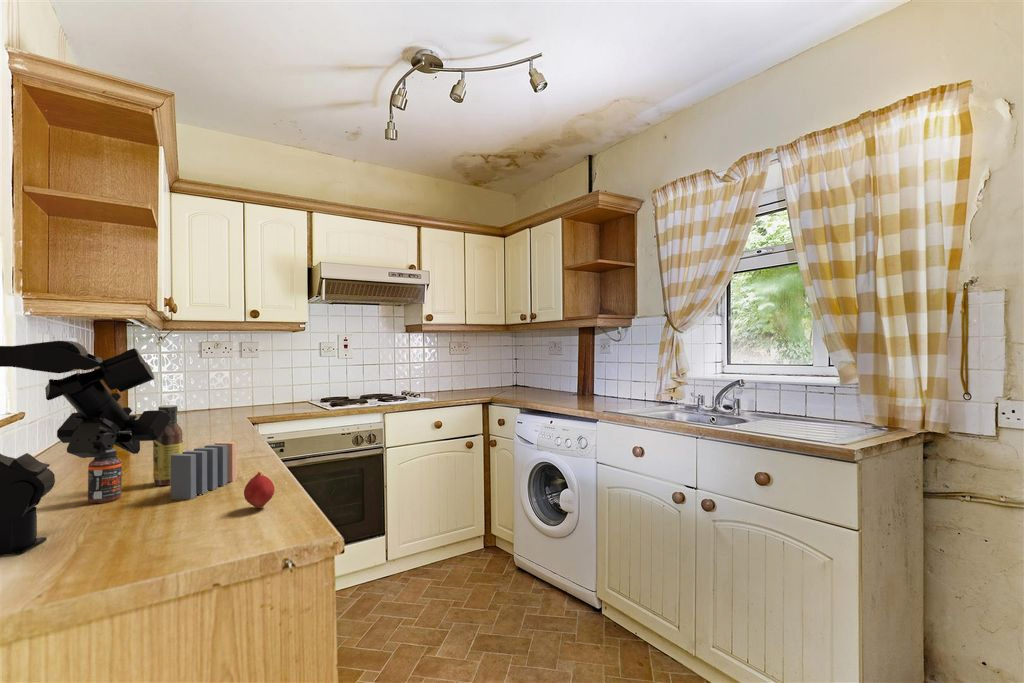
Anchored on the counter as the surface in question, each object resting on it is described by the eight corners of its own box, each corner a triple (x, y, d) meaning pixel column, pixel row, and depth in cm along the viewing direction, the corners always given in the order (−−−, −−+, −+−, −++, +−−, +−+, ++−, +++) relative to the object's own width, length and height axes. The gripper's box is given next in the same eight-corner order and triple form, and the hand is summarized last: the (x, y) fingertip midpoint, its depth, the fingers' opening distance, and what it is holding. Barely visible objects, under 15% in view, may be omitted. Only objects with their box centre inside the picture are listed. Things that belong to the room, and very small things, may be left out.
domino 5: (232, 482, 127) (232, 443, 127) (214, 482, 127) (214, 443, 127) (236, 480, 128) (236, 442, 128) (218, 480, 129) (218, 442, 129)
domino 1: (190, 499, 113) (190, 455, 113) (170, 499, 113) (170, 455, 113) (196, 497, 114) (195, 454, 114) (176, 496, 115) (176, 453, 115)
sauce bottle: (156, 481, 128) (156, 404, 128) (185, 478, 131) (184, 403, 131) (150, 488, 122) (150, 407, 122) (180, 485, 125) (180, 406, 125)
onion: (237, 510, 105) (237, 472, 105) (262, 502, 110) (262, 466, 110) (255, 514, 102) (255, 475, 102) (280, 506, 107) (280, 469, 107)
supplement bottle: (102, 505, 109) (102, 453, 109) (80, 503, 110) (80, 452, 110) (128, 496, 115) (128, 448, 115) (107, 495, 116) (107, 447, 116)
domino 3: (212, 490, 120) (212, 449, 120) (193, 490, 120) (193, 448, 120) (217, 488, 121) (217, 447, 121) (198, 488, 122) (198, 447, 122)
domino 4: (222, 486, 123) (222, 446, 123) (204, 486, 124) (204, 446, 124) (227, 484, 125) (227, 445, 125) (209, 484, 125) (209, 444, 125)
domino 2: (202, 495, 116) (202, 452, 116) (182, 494, 117) (182, 452, 117) (207, 493, 118) (207, 450, 118) (187, 492, 118) (187, 450, 118)
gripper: (11, 436, 86) (66, 487, 96) (117, 433, 86) (161, 484, 96) (55, 390, 95) (101, 441, 105) (152, 387, 95) (189, 438, 105)
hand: (136, 452), depth 102 cm, fingers closed
